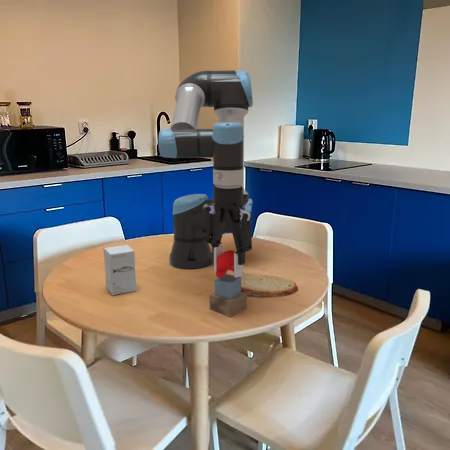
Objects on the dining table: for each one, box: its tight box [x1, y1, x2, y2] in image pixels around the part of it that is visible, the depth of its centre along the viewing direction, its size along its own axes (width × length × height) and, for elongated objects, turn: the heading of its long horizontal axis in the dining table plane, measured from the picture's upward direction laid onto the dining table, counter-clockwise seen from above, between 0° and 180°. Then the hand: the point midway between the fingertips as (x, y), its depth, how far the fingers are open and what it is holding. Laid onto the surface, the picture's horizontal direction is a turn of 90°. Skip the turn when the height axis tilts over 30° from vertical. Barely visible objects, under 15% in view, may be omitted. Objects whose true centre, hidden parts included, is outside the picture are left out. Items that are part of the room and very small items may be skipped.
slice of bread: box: [239, 272, 299, 299], centre depth 135 cm, size 18×18×4 cm
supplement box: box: [103, 244, 137, 296], centre depth 133 cm, size 7×7×13 cm
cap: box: [215, 249, 236, 278], centre depth 119 cm, size 8×6×6 cm
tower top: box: [214, 273, 241, 300], centre depth 120 cm, size 5×5×4 cm
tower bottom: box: [209, 291, 248, 318], centre depth 121 cm, size 7×7×4 cm
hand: (228, 272), depth 119 cm, fingers closed on cap, 6 cm apart
